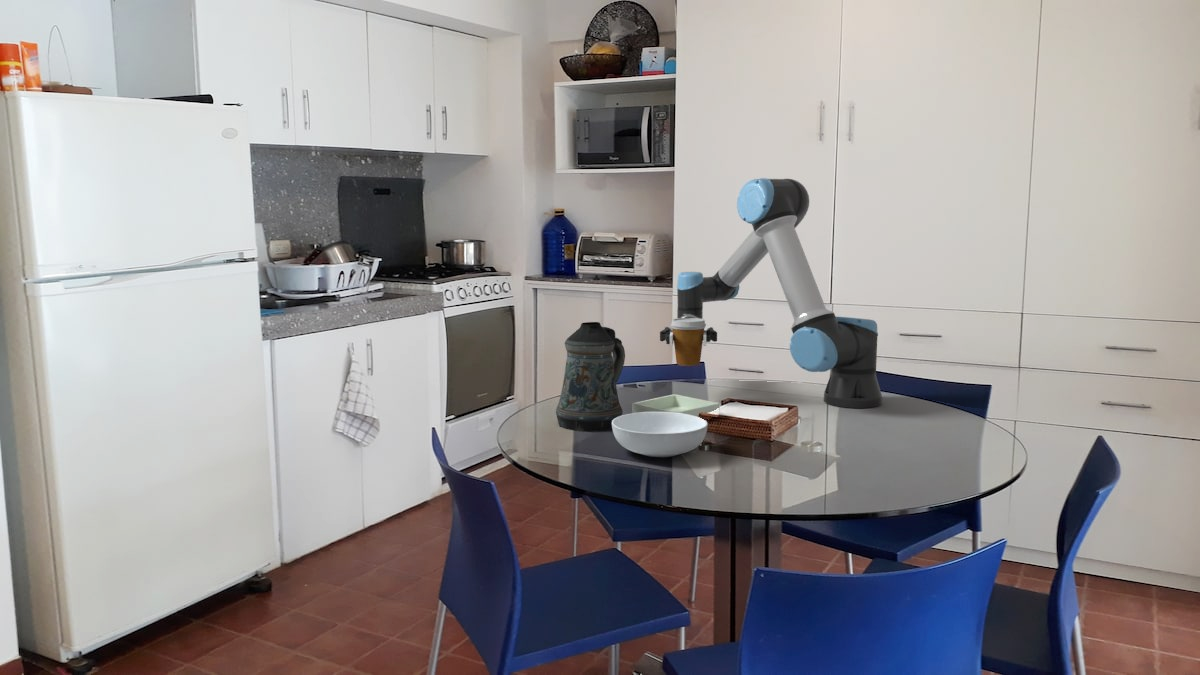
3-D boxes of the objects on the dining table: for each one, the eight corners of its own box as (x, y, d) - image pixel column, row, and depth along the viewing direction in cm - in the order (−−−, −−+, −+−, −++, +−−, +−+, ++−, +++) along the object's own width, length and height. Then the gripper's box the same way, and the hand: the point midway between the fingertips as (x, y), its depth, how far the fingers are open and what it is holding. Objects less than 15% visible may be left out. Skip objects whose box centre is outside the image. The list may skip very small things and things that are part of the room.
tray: (719, 416, 226) (719, 403, 226) (676, 427, 216) (676, 413, 216) (674, 406, 238) (674, 394, 237) (632, 416, 228) (632, 403, 227)
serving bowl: (719, 462, 187) (719, 430, 186) (621, 468, 183) (621, 435, 182) (693, 437, 207) (693, 408, 206) (604, 442, 204) (604, 412, 203)
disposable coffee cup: (705, 360, 245) (706, 317, 243) (705, 367, 235) (706, 322, 233) (671, 360, 246) (671, 317, 244) (669, 366, 236) (669, 322, 235)
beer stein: (547, 429, 216) (545, 327, 212) (571, 411, 234) (569, 317, 230) (613, 433, 211) (612, 329, 208) (632, 414, 230) (631, 318, 226)
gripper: (725, 342, 256) (727, 355, 234) (653, 341, 259) (648, 354, 237) (726, 316, 255) (728, 326, 233) (652, 315, 258) (648, 326, 235)
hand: (687, 340), depth 235 cm, fingers closed on disposable coffee cup, 8 cm apart
